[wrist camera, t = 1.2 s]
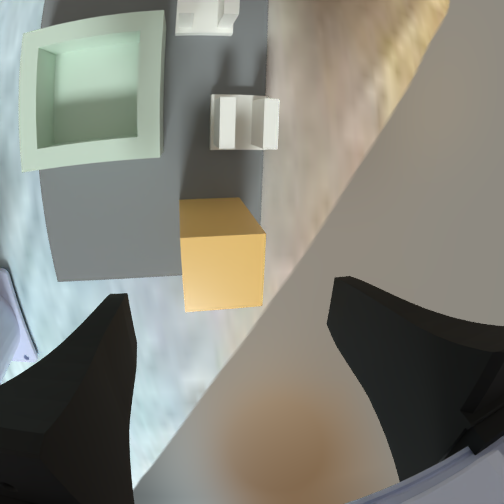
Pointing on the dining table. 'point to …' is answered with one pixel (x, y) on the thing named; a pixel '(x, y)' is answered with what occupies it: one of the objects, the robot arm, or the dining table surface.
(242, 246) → the connector plug
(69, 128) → the end holder
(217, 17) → the cable clip
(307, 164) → the dining table surface
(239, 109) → the cable clip
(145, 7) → the mat
